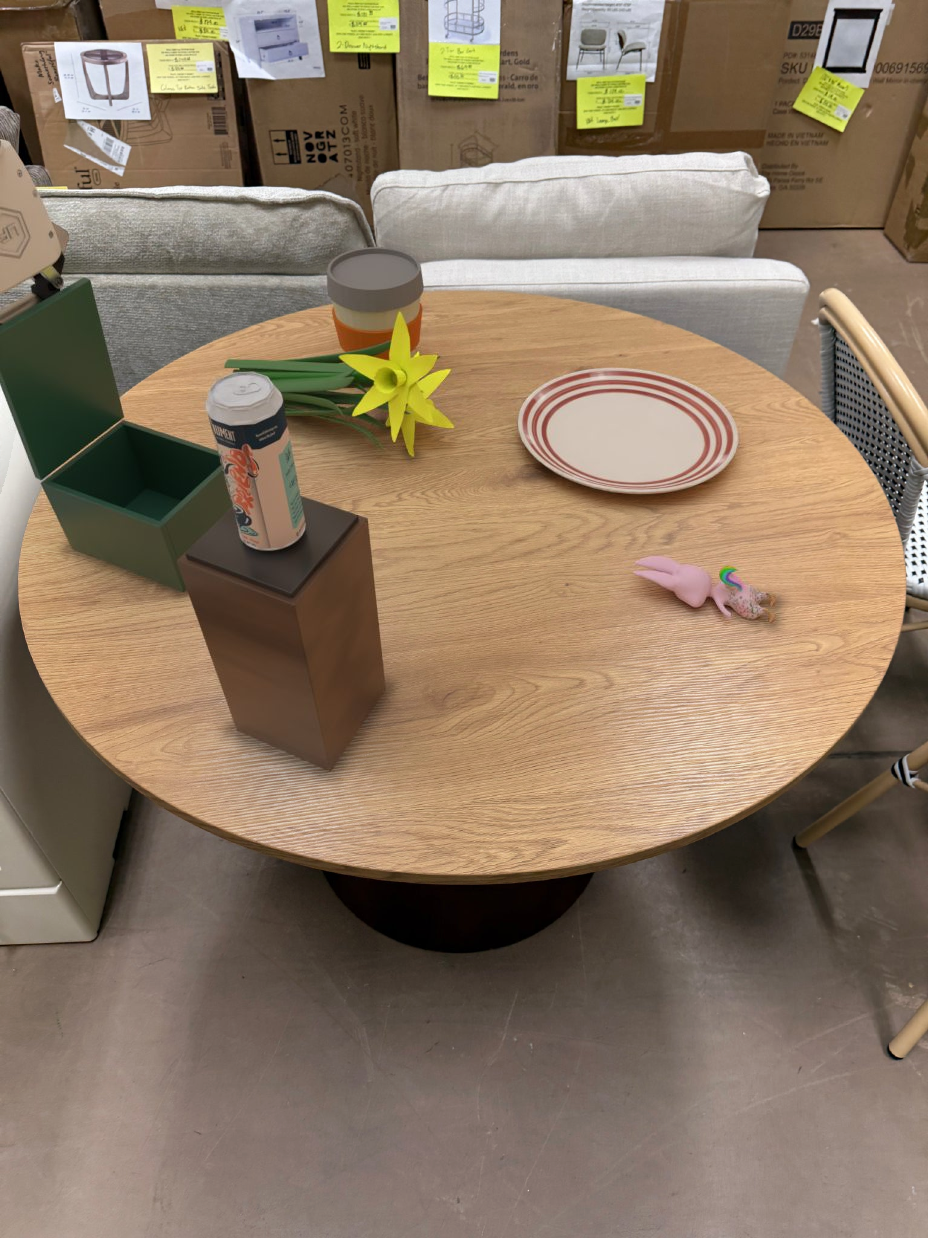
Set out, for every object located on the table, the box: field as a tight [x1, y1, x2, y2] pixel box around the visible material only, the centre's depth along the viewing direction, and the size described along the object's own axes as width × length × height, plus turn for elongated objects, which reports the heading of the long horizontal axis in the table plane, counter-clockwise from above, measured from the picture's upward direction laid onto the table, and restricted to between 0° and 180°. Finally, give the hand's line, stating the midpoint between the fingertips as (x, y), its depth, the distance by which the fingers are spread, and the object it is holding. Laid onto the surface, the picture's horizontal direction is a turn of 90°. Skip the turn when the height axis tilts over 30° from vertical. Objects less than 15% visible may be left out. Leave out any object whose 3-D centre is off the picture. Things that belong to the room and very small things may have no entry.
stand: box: [177, 495, 387, 772], centre depth 68 cm, size 10×10×22 cm
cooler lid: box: [0, 276, 125, 481], centre depth 80 cm, size 16×12×5 cm
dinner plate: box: [517, 367, 740, 495], centre depth 103 cm, size 28×27×3 cm
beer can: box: [204, 372, 306, 550], centre depth 55 cm, size 5×5×12 cm
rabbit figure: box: [632, 555, 779, 624], centre depth 84 cm, size 6×6×15 cm
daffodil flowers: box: [223, 311, 455, 458], centre depth 100 cm, size 17×15×35 cm
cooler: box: [40, 419, 232, 593], centre depth 88 cm, size 15×12×10 cm
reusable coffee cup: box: [326, 246, 425, 361], centre depth 109 cm, size 13×13×15 cm
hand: (33, 342), depth 78 cm, fingers closed on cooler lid, 6 cm apart
